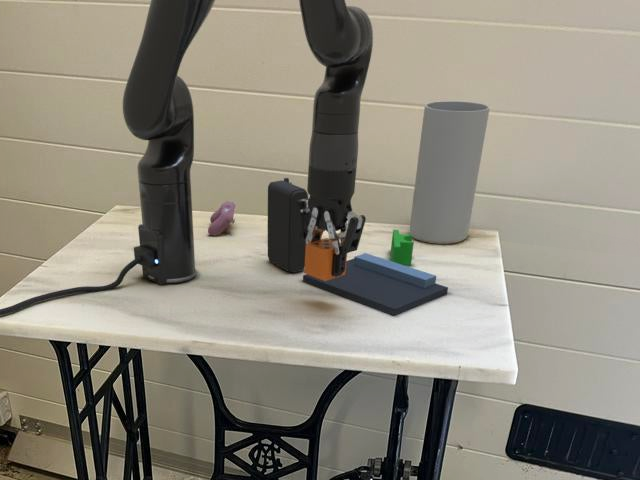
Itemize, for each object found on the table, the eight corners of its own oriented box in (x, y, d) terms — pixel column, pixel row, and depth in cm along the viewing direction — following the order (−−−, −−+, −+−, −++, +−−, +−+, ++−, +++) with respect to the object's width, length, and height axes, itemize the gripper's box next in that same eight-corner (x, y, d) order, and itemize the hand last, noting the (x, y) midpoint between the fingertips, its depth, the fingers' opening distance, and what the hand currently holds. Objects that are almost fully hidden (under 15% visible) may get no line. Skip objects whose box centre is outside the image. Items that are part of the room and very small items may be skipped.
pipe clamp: (411, 271, 141) (414, 247, 139) (391, 270, 142) (394, 246, 139) (408, 252, 150) (411, 229, 147) (390, 251, 150) (393, 228, 148)
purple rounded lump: (224, 243, 160) (238, 213, 156) (205, 233, 158) (219, 203, 155) (226, 230, 167) (240, 201, 164) (208, 220, 166) (221, 191, 162)
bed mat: (393, 315, 124) (395, 299, 122) (302, 281, 137) (303, 266, 135) (447, 293, 132) (449, 278, 130) (356, 263, 145) (357, 249, 143)
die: (325, 281, 121) (327, 250, 118) (304, 273, 124) (305, 243, 121) (345, 274, 124) (348, 244, 121) (324, 266, 127) (326, 237, 124)
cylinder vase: (429, 224, 166) (447, 99, 151) (478, 235, 159) (501, 106, 144) (397, 236, 159) (412, 106, 144) (446, 248, 152) (468, 113, 137)
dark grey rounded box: (308, 271, 141) (311, 189, 132) (290, 275, 140) (293, 192, 130) (282, 258, 147) (284, 178, 138) (265, 261, 146) (266, 181, 137)
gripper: (283, 157, 116) (280, 264, 126) (350, 175, 107) (341, 288, 118) (316, 151, 120) (310, 255, 130) (383, 167, 111) (371, 277, 122)
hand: (325, 270), depth 124 cm, fingers closed on die, 5 cm apart
